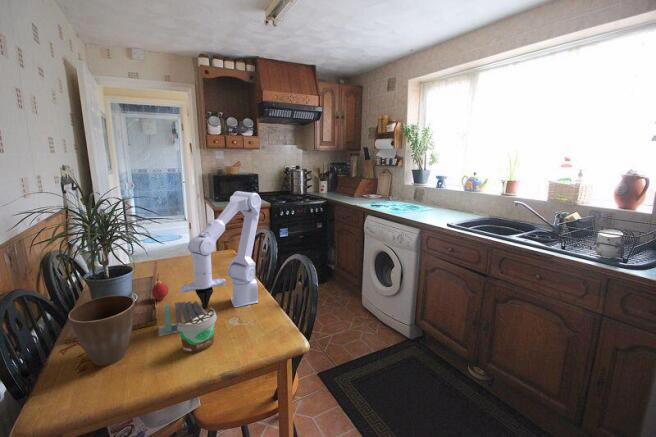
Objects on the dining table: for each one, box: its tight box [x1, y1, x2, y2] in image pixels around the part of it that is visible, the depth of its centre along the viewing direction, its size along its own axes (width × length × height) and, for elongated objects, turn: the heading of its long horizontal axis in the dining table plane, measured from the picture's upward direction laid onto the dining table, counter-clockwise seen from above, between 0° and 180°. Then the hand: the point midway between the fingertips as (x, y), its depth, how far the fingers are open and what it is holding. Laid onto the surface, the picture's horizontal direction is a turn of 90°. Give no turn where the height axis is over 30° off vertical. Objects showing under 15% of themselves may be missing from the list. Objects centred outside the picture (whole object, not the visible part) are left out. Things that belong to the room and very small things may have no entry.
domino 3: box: [180, 301, 192, 323], centre depth 106 cm, size 2×4×8 cm, turn 28°
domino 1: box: [163, 303, 172, 333], centre depth 104 cm, size 2×4×8 cm, turn 27°
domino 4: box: [185, 300, 198, 319], centre depth 108 cm, size 2×4×8 cm, turn 27°
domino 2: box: [174, 301, 183, 332], centre depth 105 cm, size 2×4×8 cm, turn 28°
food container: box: [177, 307, 218, 354], centre depth 95 cm, size 12×6×10 cm, turn 148°
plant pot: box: [67, 294, 135, 367], centre depth 88 cm, size 15×15×16 cm
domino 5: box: [191, 300, 207, 315], centre depth 109 cm, size 2×4×8 cm
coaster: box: [158, 322, 180, 337], centre depth 105 cm, size 6×6×1 cm
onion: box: [151, 280, 169, 301], centre depth 124 cm, size 6×6×8 cm
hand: (204, 307), depth 109 cm, fingers closed
